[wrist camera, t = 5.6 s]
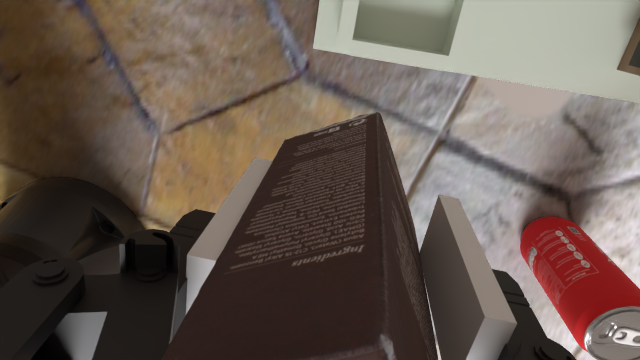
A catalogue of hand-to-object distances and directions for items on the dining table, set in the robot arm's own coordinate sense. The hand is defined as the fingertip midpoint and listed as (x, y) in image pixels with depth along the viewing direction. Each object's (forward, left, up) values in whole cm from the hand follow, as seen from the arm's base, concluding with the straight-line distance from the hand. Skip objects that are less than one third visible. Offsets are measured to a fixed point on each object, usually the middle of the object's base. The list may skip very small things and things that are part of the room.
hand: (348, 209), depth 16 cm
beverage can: (+19, -9, -19) cm, 29 cm away
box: (0, 0, -2) cm, 2 cm away
